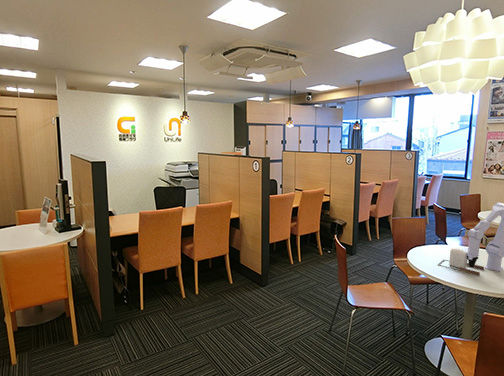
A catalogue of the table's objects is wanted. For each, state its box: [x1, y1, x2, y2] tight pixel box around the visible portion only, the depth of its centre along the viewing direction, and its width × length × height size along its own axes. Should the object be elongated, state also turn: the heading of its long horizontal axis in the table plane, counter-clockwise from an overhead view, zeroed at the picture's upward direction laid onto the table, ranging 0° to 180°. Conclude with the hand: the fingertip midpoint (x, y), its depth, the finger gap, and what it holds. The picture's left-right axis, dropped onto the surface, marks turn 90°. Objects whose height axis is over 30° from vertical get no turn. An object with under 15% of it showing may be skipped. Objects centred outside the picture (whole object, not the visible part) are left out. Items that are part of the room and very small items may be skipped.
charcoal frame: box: [437, 259, 458, 271], centre depth 211 cm, size 15×12×1 cm
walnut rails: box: [458, 262, 485, 277], centre depth 202 cm, size 14×11×2 cm
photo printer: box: [448, 247, 468, 269], centre depth 206 cm, size 10×4×12 cm, turn 30°
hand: (471, 267), depth 202 cm, fingers closed, pressing on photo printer
